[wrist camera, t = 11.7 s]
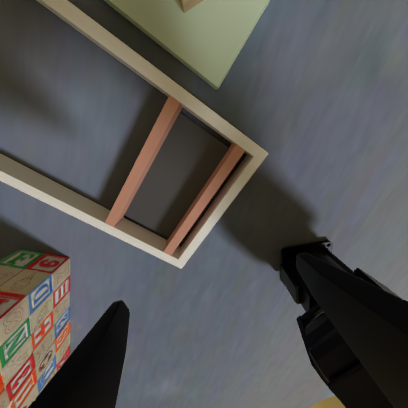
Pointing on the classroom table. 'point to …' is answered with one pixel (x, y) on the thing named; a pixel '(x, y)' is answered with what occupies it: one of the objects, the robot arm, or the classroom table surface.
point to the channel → (97, 214)
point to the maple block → (189, 4)
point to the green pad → (196, 30)
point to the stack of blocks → (32, 324)
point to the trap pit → (174, 176)
